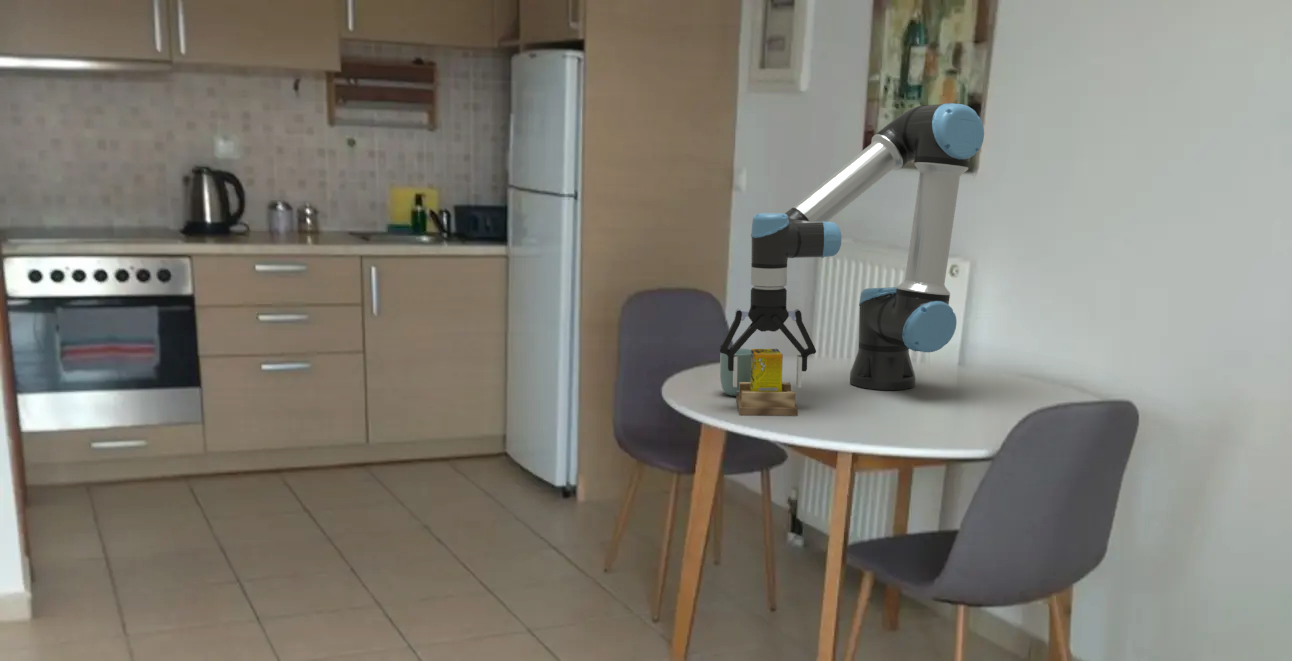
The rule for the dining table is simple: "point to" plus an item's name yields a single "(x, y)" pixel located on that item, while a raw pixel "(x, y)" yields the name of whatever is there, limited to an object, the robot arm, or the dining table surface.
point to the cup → (742, 371)
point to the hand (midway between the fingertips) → (766, 386)
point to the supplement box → (766, 370)
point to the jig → (766, 401)
